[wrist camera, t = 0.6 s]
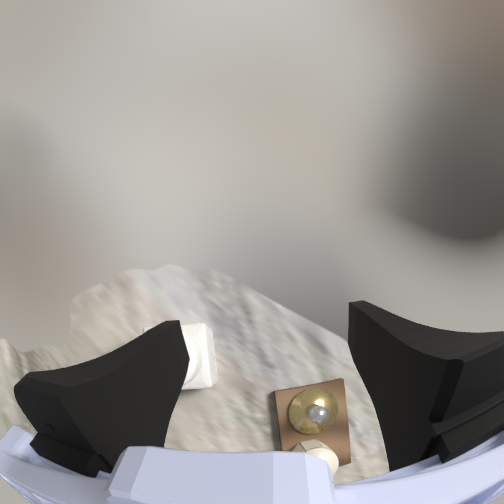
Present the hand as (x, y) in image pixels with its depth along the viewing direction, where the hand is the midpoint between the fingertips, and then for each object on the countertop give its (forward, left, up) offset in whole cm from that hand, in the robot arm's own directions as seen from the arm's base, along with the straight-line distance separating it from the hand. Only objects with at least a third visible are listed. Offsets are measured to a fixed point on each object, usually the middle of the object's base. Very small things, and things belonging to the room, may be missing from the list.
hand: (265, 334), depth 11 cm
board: (-12, -7, -25) cm, 28 cm away
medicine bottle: (0, +8, -25) cm, 26 cm away
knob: (-9, -7, -24) cm, 26 cm away
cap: (-16, -6, -24) cm, 29 cm away
